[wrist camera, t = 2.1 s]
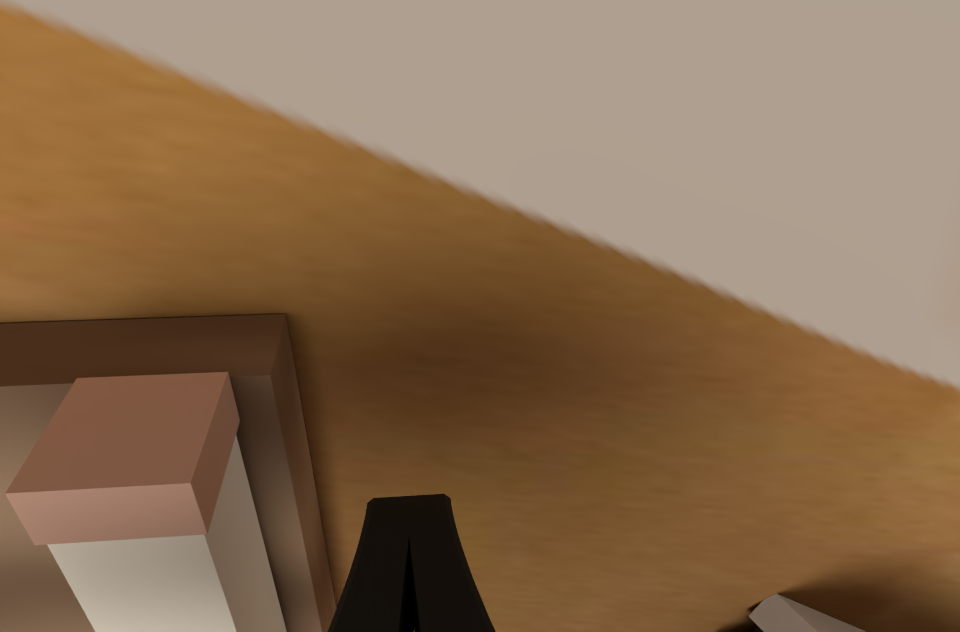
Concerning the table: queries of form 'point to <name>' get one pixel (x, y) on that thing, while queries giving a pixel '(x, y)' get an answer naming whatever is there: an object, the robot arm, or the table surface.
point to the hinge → (794, 618)
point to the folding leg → (150, 506)
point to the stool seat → (261, 435)
